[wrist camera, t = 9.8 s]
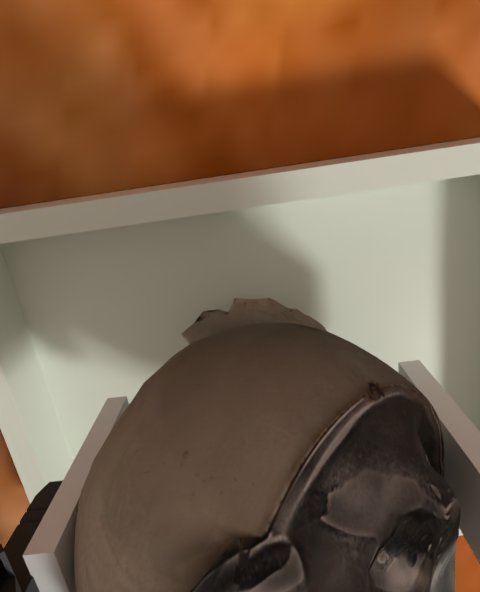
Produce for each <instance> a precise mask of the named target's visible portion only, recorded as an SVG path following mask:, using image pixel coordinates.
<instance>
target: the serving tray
mask: <svg viewBox="0 0 480 592" xmlns="http://www.w3.org/2000/svg"><path fill="white" fill-rule="evenodd" d="M234 298H242V299H262V298H270V299H273V300H275V301H277V302H278V303H280V304H281V305H283V306H285V307H287V308H292V309H298V310H299V311H300V312H302V313H303V314H305V315H308V316H310V317H311V318H313V319H315V320H316V321H318V322H319V323H320V324H322V325H323V326H324V327H325V329H326V330H327V332H329V333H332V334H334V335H337V336H339V337H341V338H343V339H345V340H347V341H349V342H351V343H353V344H355V345H357V346H359V347H360V348H362V349H364V350H365V351H367V352H369V353H371V354H372V355H374V356H376V357H377V358H379V359H380V360H382V361H383V362H385V363H386V364H388V365H389V366H390V367H392V368H393V369H394V370H396V371H397V372H398V373H399V370H398V362H405V361H413V360H420V361H421V363H422V364H423V365H424V366H425V367H426V369H427V370H428V371H429V372H430V373H431V374H432V376H433V377H434V378H435V379H436V380H437V382H438V383H439V384H440V385H441V386H442V388H443V389H444V390H445V391H446V392H447V393H448V395H449V396H450V397H451V398H452V399H453V401H454V402H455V403H456V404H457V405H458V406H459V408H460V409H461V410H462V411H463V412H464V414H465V415H466V416H467V417H468V418H469V420H470V421H471V422H472V423H473V424H474V425H475V427H476V428H477V429H478V430H479V431H480V137H477V138H471V139H464V140H457V141H451V142H444V143H437V144H430V145H424V146H417V147H410V148H404V149H397V150H390V151H384V152H377V153H370V154H364V155H357V156H350V157H344V158H337V159H330V160H324V161H317V162H310V163H303V164H297V165H290V166H283V167H277V168H270V169H263V170H257V171H250V172H243V173H237V174H230V175H223V176H217V177H210V178H203V179H197V180H190V181H183V182H177V183H170V184H163V185H156V186H150V187H143V188H136V189H130V190H123V191H116V192H110V193H103V194H96V195H90V196H83V197H76V198H70V199H63V200H56V201H50V202H43V203H36V204H29V205H23V206H16V207H9V208H3V209H0V429H1V431H2V434H3V437H4V439H5V442H6V444H7V447H8V449H9V452H10V454H11V457H12V459H13V462H14V464H15V467H16V469H17V472H18V474H19V477H20V479H21V482H22V484H23V487H24V490H25V492H26V495H27V497H28V500H29V502H30V504H31V502H32V501H33V499H34V497H35V496H36V494H37V493H39V492H40V491H41V490H42V489H43V488H44V487H45V486H46V485H47V484H48V483H49V482H53V481H62V480H64V478H65V476H66V474H67V472H68V470H69V468H70V467H71V465H72V463H73V461H74V459H75V457H76V456H77V454H78V452H79V450H80V448H81V446H82V444H83V443H84V441H85V439H86V437H87V435H88V433H89V431H90V430H91V428H92V426H93V424H94V422H95V420H96V418H97V417H98V415H99V413H100V411H101V409H102V407H103V406H104V404H105V402H106V400H107V398H115V397H123V396H127V399H128V403H129V404H130V403H131V401H132V400H133V398H134V397H135V395H136V394H137V392H138V391H139V389H140V388H141V386H142V385H143V383H144V382H145V381H146V380H147V379H149V378H150V377H151V376H152V375H153V374H154V373H155V372H156V371H157V370H159V369H160V368H161V367H162V366H163V365H164V364H165V363H166V362H167V361H168V360H169V359H170V358H171V357H172V356H174V355H175V354H176V353H178V352H179V351H181V350H182V349H184V348H185V347H186V346H188V345H189V343H188V342H187V341H186V340H185V339H184V338H183V336H182V335H181V334H182V333H183V332H184V331H185V330H186V329H187V328H189V327H190V326H191V325H192V324H193V323H195V321H196V320H197V318H198V317H199V316H200V314H201V313H202V312H203V311H208V310H215V309H221V310H224V311H226V312H229V311H230V308H231V306H232V304H233V301H234ZM459 535H463V533H462V532H461V530H460V528H459Z"/></svg>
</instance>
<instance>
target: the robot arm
mask: <svg viewBox="0 0 480 592" xmlns="http://www.w3.org/2000/svg"><path fill="white" fill-rule="evenodd" d="M398 370H399V373H400V374H401V375H402V376H404V377H405V378H406V379H407V380H408V381H410V382H411V383H412V384H413V385H414V386H415V387H416V388H417V389H418V390H419V391H421V392H422V393H423V394H424V396H425V397H426V398H427V399H428V400H429V401H430V403H431V404H432V406H433V408H434V409H435V411H436V413H437V415H438V418H439V421H440V424H441V429H442V434H443V442H444V479H445V481H446V482H447V483H448V485H449V486H450V487H451V488H452V490H453V491H454V492H455V495H456V497H457V500H458V503H459V506H460V508H461V518H460V523H459V528H460V530H461V532H462V533H463V535H464V537H465V539H466V540H467V542H468V544H469V546H470V547H471V549H472V551H473V553H474V554H475V556H476V558H477V560H478V561H479V563H480V431H479V430H478V429H477V428H476V427H475V425H474V424H473V423H472V422H471V421H470V420H469V418H468V417H467V416H466V415H465V414H464V412H463V411H462V410H461V409H460V408H459V406H458V405H457V404H456V403H455V402H454V401H453V399H452V398H451V397H450V396H449V395H448V393H447V392H446V391H445V390H444V389H443V388H442V386H441V385H440V384H439V383H438V382H437V380H436V379H435V378H434V377H433V376H432V374H431V373H430V372H429V371H428V370H427V369H426V367H425V366H424V365H423V364H422V363H421V361H420V360H413V361H405V362H398ZM128 405H129V403H128V399H127V396H123V397H115V398H107V400H106V402H105V404H104V406H103V407H102V409H101V411H100V413H99V415H98V417H97V418H96V420H95V422H94V424H93V426H92V428H91V430H90V431H89V433H88V435H87V437H86V439H85V441H84V443H83V444H82V446H81V448H80V450H79V452H78V454H77V456H76V457H75V459H74V461H73V463H72V465H71V467H70V468H69V470H68V472H67V474H66V476H65V478H64V480H62V481H53V482H49V483H48V484H47V485H46V486H45V487H44V488H43V489H42V490H41V491H40V492H39V493H37V494H36V496H35V497H34V499H33V501H32V502H31V504H30V506H29V507H28V509H27V513H25V514H24V516H23V517H22V519H21V521H20V525H18V526H17V527H16V529H15V531H14V532H13V534H12V536H11V537H10V539H9V541H8V542H7V544H6V546H5V548H4V549H3V547H2V545H1V544H0V592H76V585H75V570H74V545H75V527H76V519H77V512H78V505H79V500H80V495H81V490H82V488H83V485H84V483H85V481H86V478H87V476H88V474H89V471H90V469H91V466H92V463H93V460H94V459H95V457H96V455H97V454H98V452H99V450H100V448H101V447H102V445H103V443H104V442H105V440H106V438H107V437H108V435H109V433H110V432H111V430H112V428H113V427H114V425H115V424H116V422H117V420H118V419H119V417H120V416H121V415H122V413H123V412H124V411H125V409H126V408H127V407H128Z"/></svg>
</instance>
